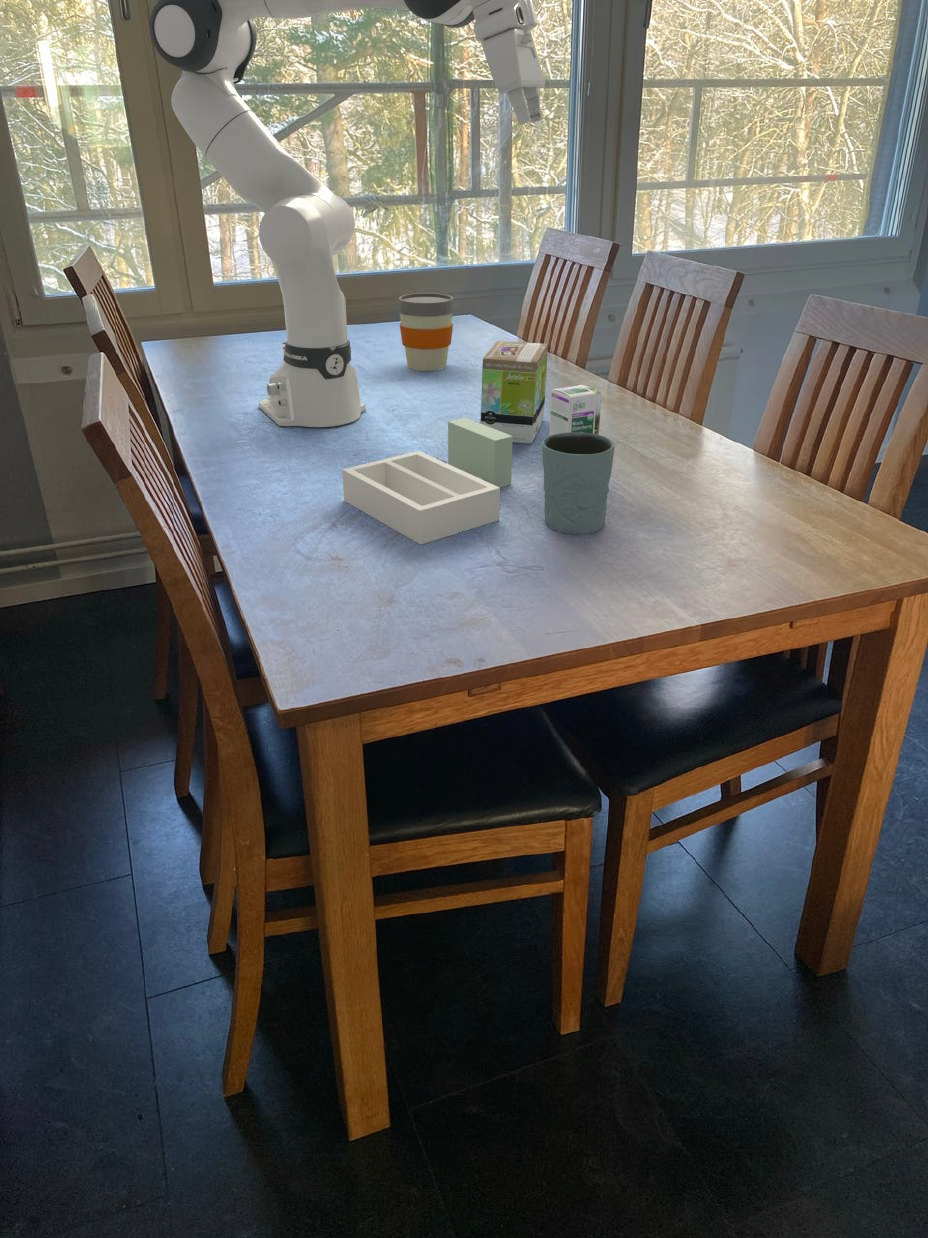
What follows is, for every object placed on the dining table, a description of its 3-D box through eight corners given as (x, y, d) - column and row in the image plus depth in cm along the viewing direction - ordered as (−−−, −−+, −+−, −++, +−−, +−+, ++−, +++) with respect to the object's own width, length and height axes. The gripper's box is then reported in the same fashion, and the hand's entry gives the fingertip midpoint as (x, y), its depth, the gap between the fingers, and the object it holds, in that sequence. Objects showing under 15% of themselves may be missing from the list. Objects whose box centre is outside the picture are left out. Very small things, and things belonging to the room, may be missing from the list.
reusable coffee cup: (464, 363, 214) (465, 296, 206) (434, 375, 204) (433, 305, 197) (420, 356, 220) (418, 290, 212) (388, 367, 210) (386, 299, 203)
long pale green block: (448, 468, 153) (447, 421, 149) (465, 464, 155) (466, 417, 151) (494, 489, 145) (495, 440, 141) (512, 484, 147) (513, 435, 143)
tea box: (534, 445, 164) (537, 360, 156) (478, 441, 165) (479, 357, 158) (545, 420, 177) (548, 341, 169) (493, 416, 178) (494, 338, 171)
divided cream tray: (344, 500, 140) (342, 469, 138) (425, 479, 148) (424, 449, 146) (420, 544, 127) (420, 510, 124) (505, 518, 135) (506, 486, 132)
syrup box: (566, 487, 145) (571, 396, 138) (546, 476, 150) (550, 387, 143) (596, 481, 148) (603, 391, 141) (575, 470, 152) (581, 382, 145)
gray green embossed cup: (589, 542, 127) (596, 459, 122) (525, 526, 132) (528, 445, 126) (619, 518, 135) (626, 438, 129) (557, 504, 140) (562, 426, 134)
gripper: (501, 33, 149) (525, 126, 154) (470, 26, 131) (497, 131, 137) (539, 18, 146) (561, 113, 152) (512, 9, 129) (538, 117, 135)
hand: (531, 122), depth 144 cm, fingers open, 8 cm apart
